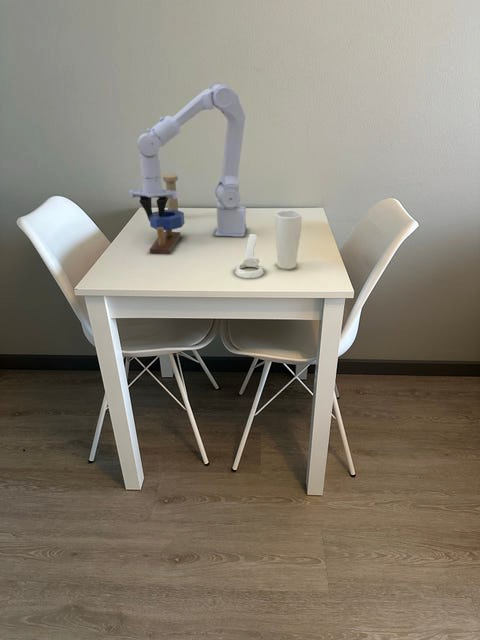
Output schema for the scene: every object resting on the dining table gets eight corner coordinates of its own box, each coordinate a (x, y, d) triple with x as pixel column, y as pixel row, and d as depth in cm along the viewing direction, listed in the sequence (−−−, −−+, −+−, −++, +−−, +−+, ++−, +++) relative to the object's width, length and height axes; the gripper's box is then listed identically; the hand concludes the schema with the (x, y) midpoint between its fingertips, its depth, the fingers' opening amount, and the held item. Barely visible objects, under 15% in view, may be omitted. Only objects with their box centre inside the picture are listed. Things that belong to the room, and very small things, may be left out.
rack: (180, 236, 152) (179, 215, 149) (169, 254, 140) (167, 231, 136) (162, 235, 153) (160, 215, 149) (150, 253, 140) (147, 231, 137)
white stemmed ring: (267, 243, 132) (271, 237, 125) (259, 284, 131) (263, 280, 124) (241, 237, 131) (243, 231, 124) (233, 279, 130) (235, 275, 123)
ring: (186, 220, 151) (185, 209, 150) (179, 230, 143) (178, 219, 141) (156, 219, 152) (155, 209, 151) (148, 229, 144) (146, 219, 142)
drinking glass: (292, 273, 127) (294, 219, 119) (270, 267, 130) (271, 215, 122) (302, 264, 132) (305, 212, 124) (281, 259, 135) (283, 208, 127)
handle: (170, 221, 166) (166, 178, 158) (164, 216, 171) (160, 174, 163) (183, 219, 168) (179, 176, 160) (176, 214, 173) (173, 172, 165)
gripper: (123, 179, 138) (129, 223, 145) (171, 180, 136) (175, 225, 143) (131, 173, 144) (136, 216, 151) (177, 174, 142) (180, 217, 149)
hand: (156, 220), depth 147 cm, fingers closed on ring, 3 cm apart
